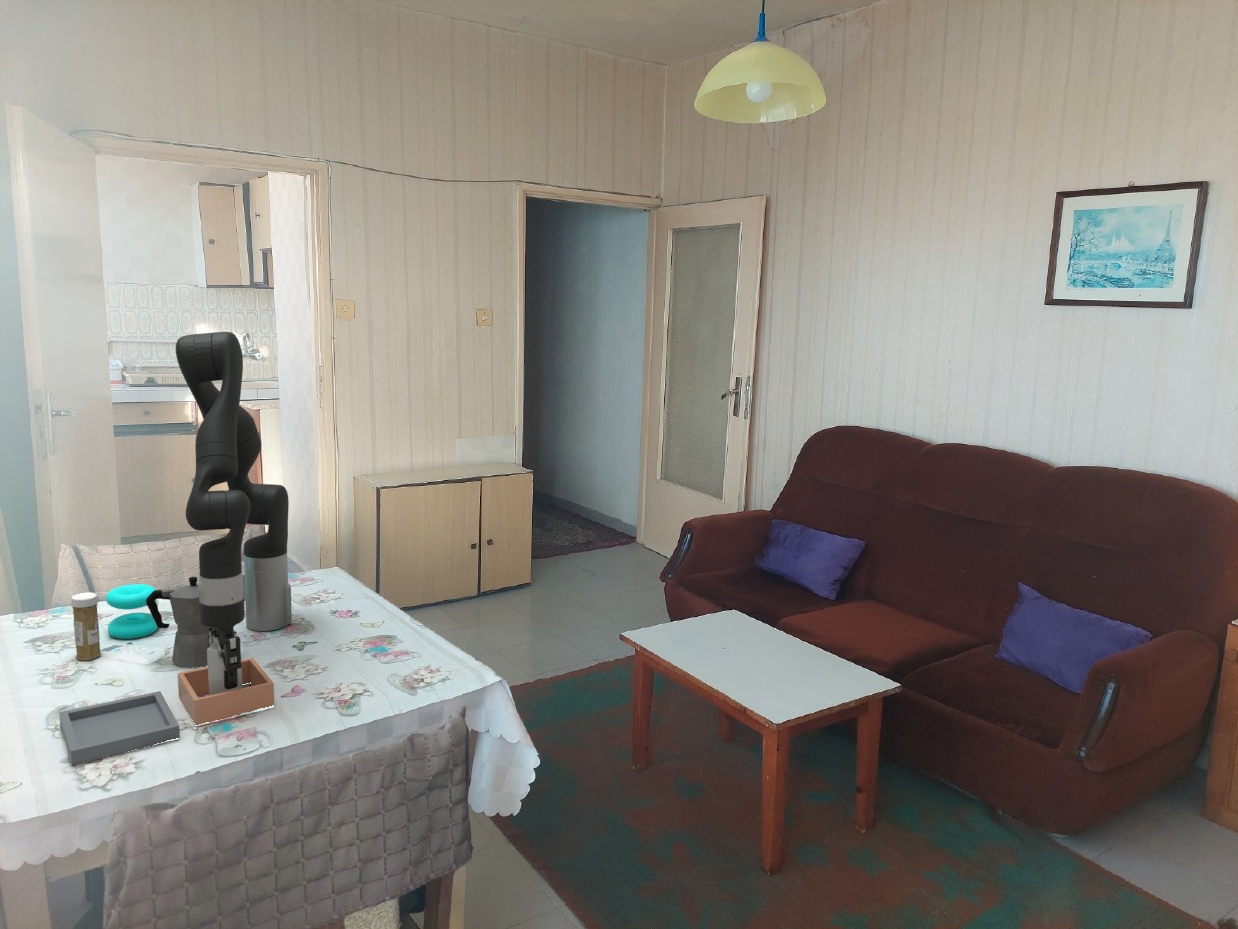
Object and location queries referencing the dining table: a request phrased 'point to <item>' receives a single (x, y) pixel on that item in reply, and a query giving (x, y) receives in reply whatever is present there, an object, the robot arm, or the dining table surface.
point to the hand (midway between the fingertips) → (224, 679)
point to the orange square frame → (224, 694)
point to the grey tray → (117, 727)
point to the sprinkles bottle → (86, 626)
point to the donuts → (132, 622)
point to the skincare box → (219, 672)
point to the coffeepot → (184, 623)
